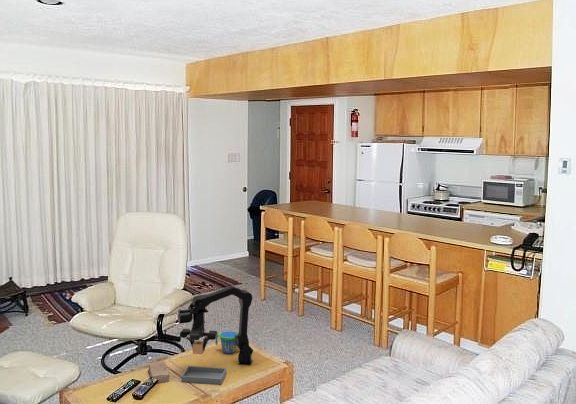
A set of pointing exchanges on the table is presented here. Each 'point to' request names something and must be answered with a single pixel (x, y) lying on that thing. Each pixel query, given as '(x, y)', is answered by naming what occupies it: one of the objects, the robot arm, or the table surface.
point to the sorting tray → (204, 375)
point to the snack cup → (227, 341)
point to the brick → (159, 371)
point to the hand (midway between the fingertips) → (198, 350)
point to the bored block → (198, 347)
